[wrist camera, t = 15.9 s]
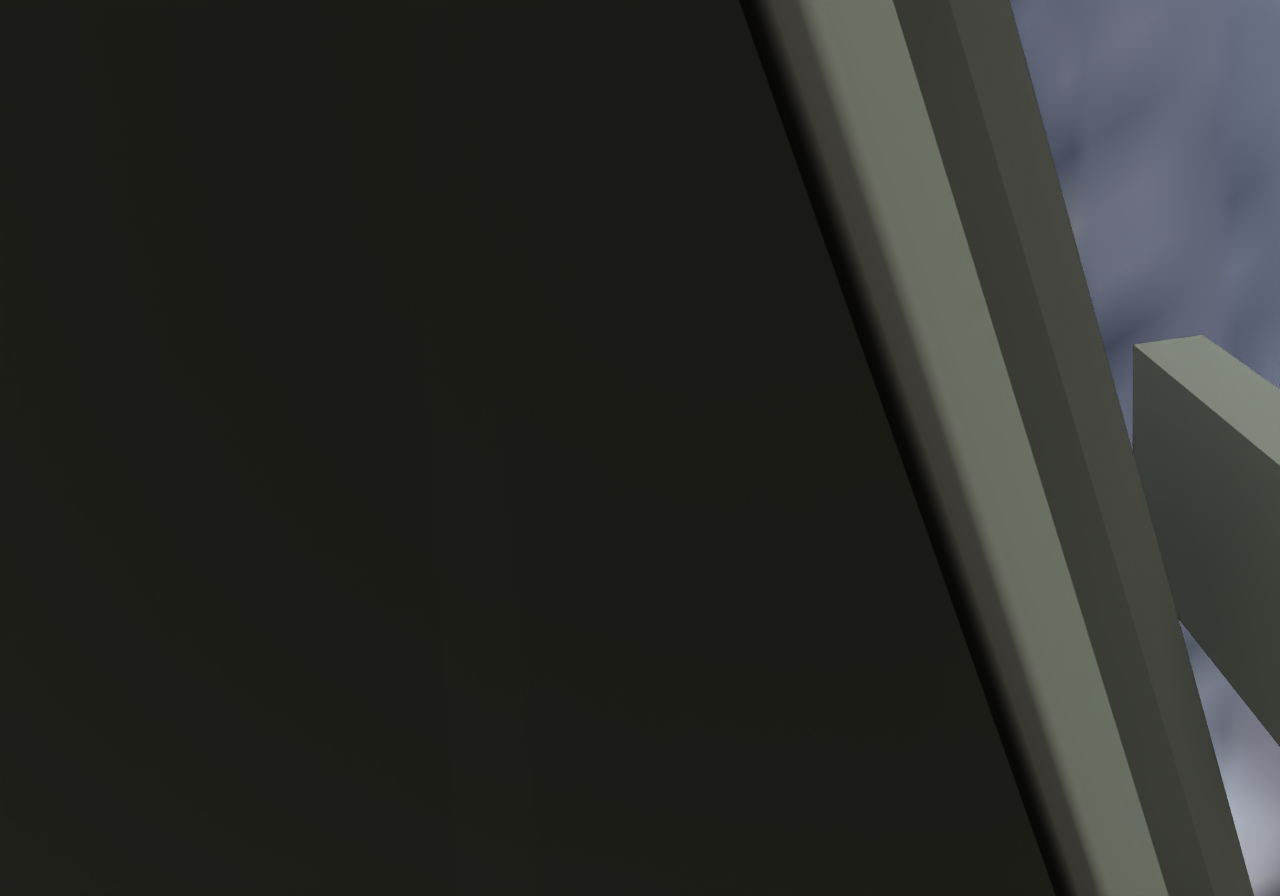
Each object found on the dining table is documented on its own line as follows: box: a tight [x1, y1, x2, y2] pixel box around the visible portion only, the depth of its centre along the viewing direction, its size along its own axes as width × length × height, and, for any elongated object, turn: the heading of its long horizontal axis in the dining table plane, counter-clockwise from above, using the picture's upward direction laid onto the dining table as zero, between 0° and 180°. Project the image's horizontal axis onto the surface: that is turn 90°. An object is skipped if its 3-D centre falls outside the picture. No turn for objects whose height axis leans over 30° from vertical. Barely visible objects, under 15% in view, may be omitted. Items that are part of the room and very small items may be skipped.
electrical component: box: [0, 0, 1254, 896], centre depth 16 cm, size 18×10×20 cm, turn 22°
